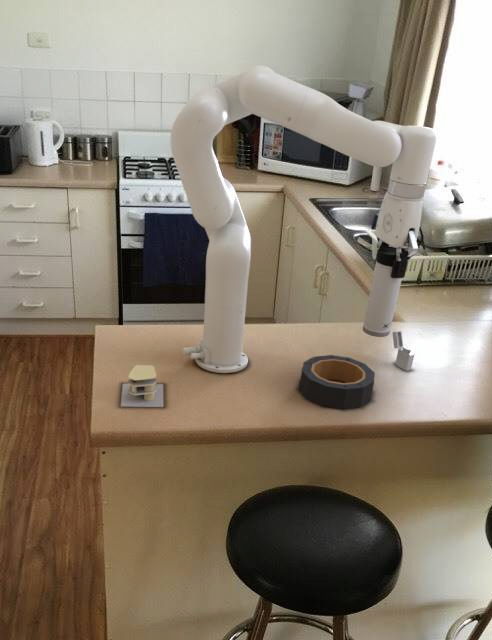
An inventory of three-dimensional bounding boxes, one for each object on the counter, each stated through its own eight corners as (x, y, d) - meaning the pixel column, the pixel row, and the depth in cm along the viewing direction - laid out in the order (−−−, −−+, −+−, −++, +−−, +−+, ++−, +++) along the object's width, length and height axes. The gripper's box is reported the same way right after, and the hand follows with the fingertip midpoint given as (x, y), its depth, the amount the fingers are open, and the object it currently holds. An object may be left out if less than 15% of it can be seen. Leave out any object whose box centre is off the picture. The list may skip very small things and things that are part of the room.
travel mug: (391, 339, 158) (410, 254, 148) (362, 334, 159) (379, 250, 149) (390, 328, 163) (409, 245, 153) (362, 324, 164) (379, 241, 154)
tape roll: (318, 412, 149) (321, 391, 146) (289, 377, 162) (291, 358, 160) (383, 404, 154) (387, 384, 151) (350, 371, 167) (353, 352, 164)
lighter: (411, 370, 169) (417, 340, 166) (406, 371, 169) (412, 341, 165) (392, 357, 175) (398, 328, 171) (386, 359, 174) (392, 329, 170)
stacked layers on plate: (122, 383, 155) (122, 361, 152) (163, 384, 155) (163, 362, 153) (120, 406, 146) (120, 383, 143) (163, 407, 147) (163, 384, 144)
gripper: (370, 179, 151) (355, 259, 160) (413, 200, 137) (394, 287, 146) (400, 180, 153) (384, 258, 162) (445, 200, 139) (425, 285, 148)
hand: (389, 271), depth 154 cm, fingers closed on travel mug, 6 cm apart
